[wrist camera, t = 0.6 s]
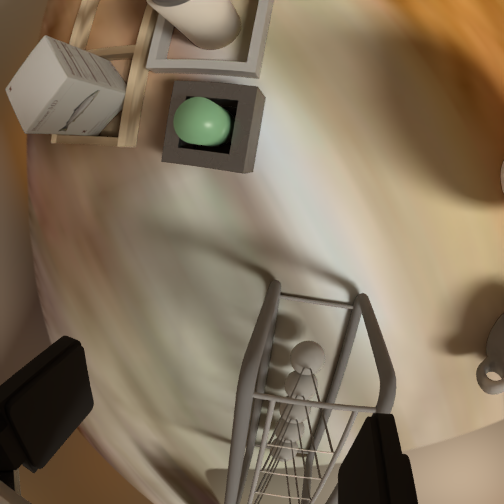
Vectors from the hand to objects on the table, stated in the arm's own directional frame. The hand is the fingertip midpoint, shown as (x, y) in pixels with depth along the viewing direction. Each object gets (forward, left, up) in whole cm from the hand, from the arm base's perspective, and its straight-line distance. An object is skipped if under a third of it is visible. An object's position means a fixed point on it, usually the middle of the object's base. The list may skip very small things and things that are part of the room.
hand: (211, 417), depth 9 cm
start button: (-10, -8, -24) cm, 28 cm away
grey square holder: (-10, -8, -26) cm, 29 cm away
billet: (-22, -11, -26) cm, 36 cm away
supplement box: (-13, -24, -27) cm, 38 cm away
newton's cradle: (+19, +6, -27) cm, 33 cm away
